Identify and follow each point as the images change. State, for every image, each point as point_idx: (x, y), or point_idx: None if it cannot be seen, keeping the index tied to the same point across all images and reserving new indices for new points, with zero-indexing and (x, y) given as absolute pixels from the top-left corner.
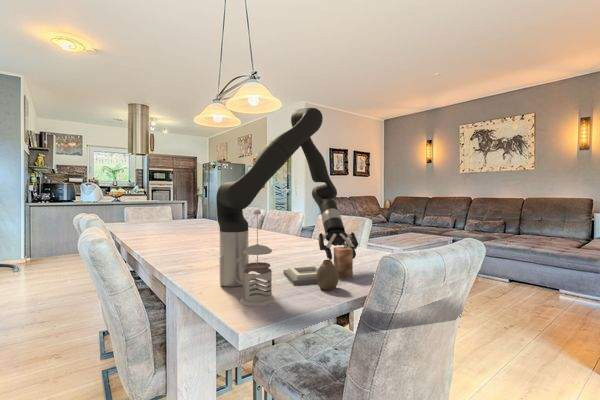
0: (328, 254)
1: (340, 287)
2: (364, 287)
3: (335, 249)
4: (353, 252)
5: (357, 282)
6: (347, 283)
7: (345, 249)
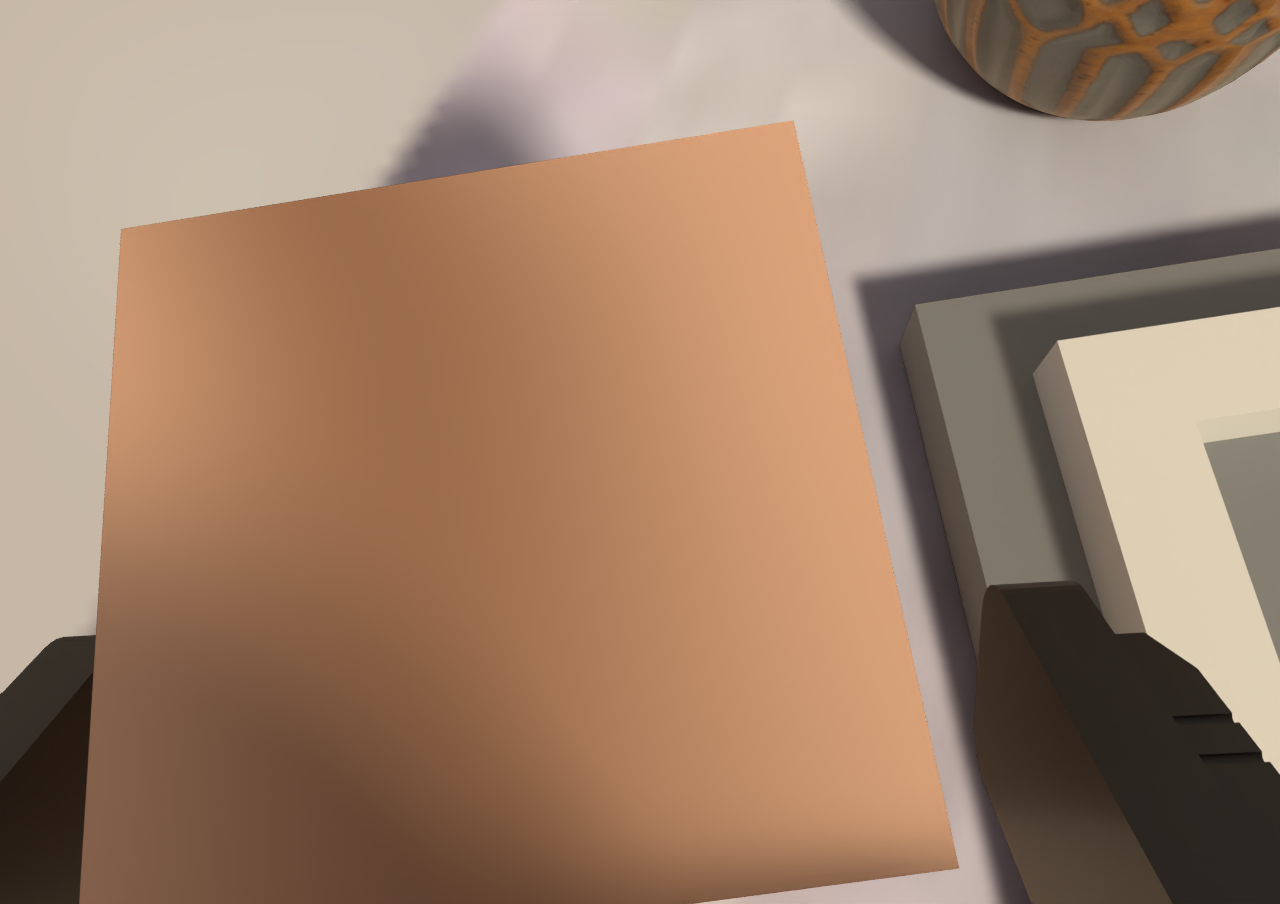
0: (1172, 695)
1: (855, 58)
2: (490, 33)
3: (887, 602)
4: (12, 716)
5: None
6: None
7: (468, 213)
